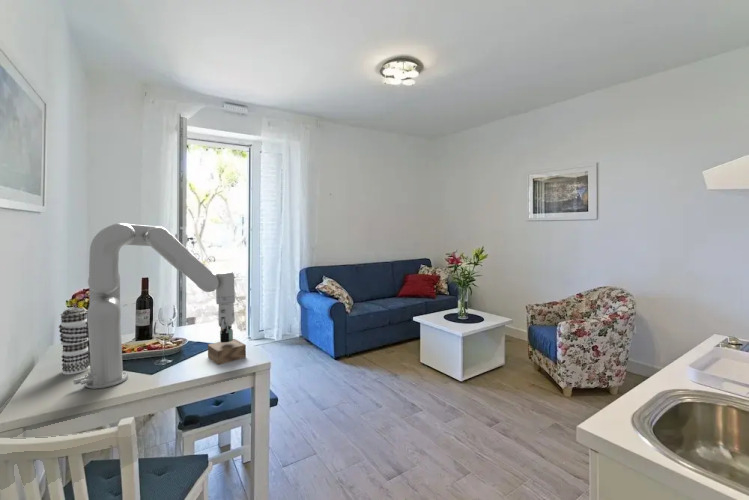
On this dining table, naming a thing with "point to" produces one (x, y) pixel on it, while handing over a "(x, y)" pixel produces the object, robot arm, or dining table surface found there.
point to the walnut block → (226, 351)
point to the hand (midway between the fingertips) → (226, 339)
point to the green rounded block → (229, 335)
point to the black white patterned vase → (74, 341)
